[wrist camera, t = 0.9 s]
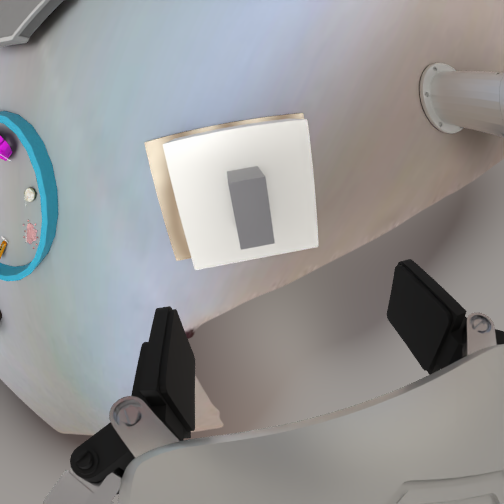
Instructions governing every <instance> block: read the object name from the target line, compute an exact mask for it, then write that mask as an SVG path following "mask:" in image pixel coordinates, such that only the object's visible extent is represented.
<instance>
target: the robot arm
mask: <svg viewBox="0 0 504 504" xmlns="http://www.w3.org/2000/svg"><path fill="white" fill-rule="evenodd" d="M420 98H421V103H422V106H423V109H424V111H425V113H426V116H427V117H428V119H429V120H430V122H431V123H432V124H433V125H434V126H435V127H436V128H437V129H438V130H440V131H442V132H445V133H450V134H454V133H457V132H459V131H461V130H462V129H463V128H468V129H472V130H477V131H481V132H485V133H489V134H492V135H496V136H500V137H503V138H504V72H488V71H456V70H455V69H454V68H453V67H451V66H449V65H447V64H445V63H434V64H431V65H429V66H428V67H427V68H426V69H425V70H424V72H423V74H422V76H421V80H420ZM465 314H466V310H465V309H464V308H462V307H461V305H460V304H459V303H458V302H456V300H455V299H454V298H453V297H452V296H450V295H449V294H448V293H447V292H446V291H445V290H444V289H443V288H442V287H441V286H440V285H439V284H438V283H437V282H436V281H435V280H434V279H432V278H431V277H430V276H429V275H428V274H427V273H426V272H425V271H424V270H423V269H421V268H420V267H419V266H418V265H417V264H416V263H415V262H414V261H412V260H411V259H409V260H405V261H401V262H399V263H398V265H397V266H396V267H395V272H394V279H393V284H392V290H391V295H390V300H389V306H388V311H387V318H388V320H389V321H390V323H391V324H392V326H393V327H394V328H395V330H396V331H397V332H398V334H399V335H400V337H401V338H402V339H403V341H404V342H405V343H406V344H407V346H408V348H409V349H410V351H411V352H412V353H413V355H414V356H415V358H416V359H417V361H418V362H419V363H420V365H421V367H422V368H423V369H424V370H427V371H428V373H429V374H430V375H429V376H426V377H424V378H422V379H420V380H418V381H416V382H413V383H411V384H409V385H407V386H404V387H402V388H400V389H397V390H395V391H392V392H390V393H387V394H385V395H382V396H379V397H377V398H374V399H371V400H369V401H366V402H363V403H360V404H357V405H354V406H351V407H348V408H345V409H342V410H338V411H335V412H332V413H328V414H325V415H321V416H317V417H314V418H310V419H306V420H302V421H298V422H293V423H289V424H284V425H279V426H274V427H269V428H264V429H258V430H253V431H247V432H240V433H234V434H227V435H219V436H212V437H204V438H196V439H190V440H185V441H183V438H191V435H190V434H191V431H194V430H195V358H194V354H193V352H192V349H191V347H190V344H189V342H188V339H187V336H186V334H185V331H184V329H183V326H182V323H181V321H180V318H179V315H178V313H177V310H176V309H174V310H172V308H171V307H170V306H169V307H163V308H157V309H156V311H155V315H154V320H153V324H152V329H151V333H150V338H149V342H144V343H143V344H142V347H141V351H140V356H139V360H138V365H137V370H136V375H135V380H134V385H133V391H132V396H128V397H123V398H121V399H119V400H118V401H117V402H115V403H114V404H113V406H112V408H111V410H110V413H109V419H110V423H109V424H108V425H106V426H105V427H104V428H103V429H101V430H100V431H99V432H97V433H96V434H95V435H93V436H92V437H91V438H89V439H88V440H87V441H85V442H84V443H83V444H81V445H80V446H79V447H77V448H76V449H75V450H74V452H73V453H72V455H71V459H70V463H71V469H70V471H67V470H65V472H64V473H63V474H62V476H61V477H60V479H59V480H58V481H57V483H56V484H55V486H54V487H53V488H52V490H51V491H50V492H49V494H48V495H47V497H46V498H45V500H44V502H43V504H113V502H112V500H113V498H114V497H115V495H116V494H119V498H118V504H504V332H503V331H500V330H496V329H495V327H494V324H493V321H492V320H491V319H490V318H489V317H488V316H486V315H485V314H482V313H472V314H470V315H469V316H468V317H467V318H466V317H465ZM440 369H441V370H440Z"/></svg>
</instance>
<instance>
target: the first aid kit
mask: <svg viewBox="0 0 504 504" xmlns="http://www.w3.org/2000/svg"><path fill="white" fill-rule="evenodd" d="M63 1H64V0H0V47H4V46H10V45H16V44H23V43H27V41H28V40H29V37H30V36H31V35H32V34H33V32H34V31H35V30H36V29H37V28H38V27H39V26H40V24H41V23H42V22H43V21H44V20H45V19H46V18H47V17H48V16H49V15H50V14H51V13H52V12H53V11H54V9H55V8H56V7H57V6H58V5H59V4H60V3H62V2H63Z"/></svg>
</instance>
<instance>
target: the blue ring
mask: <svg viewBox="0 0 504 504" xmlns="http://www.w3.org/2000/svg"><path fill="white" fill-rule="evenodd" d="M0 123H4V124H5V125H6V126H7V127H8V128H9V129H11V130H12V131H13V132H14V133H15V134H16V135H17V136H18V138H19V140H20V141H21V143H22V144H23V146H24V147H25V149H26V150H27V153H28V155H29V158H30V161H31V163H32V166H33V168H34V171H35V174H36V179H37V183H38V188H39V192H40V196H41V212H42V227H41V237H40V243H39V246H38V249H37V252H36V255H35V258H34V259H33V261H32V262H30V263H29V264H27V265H24V266H17V267H13V266H9V265H5V264H2V263H0V279H1V280H4V281H16V280H21V279H22V278H24V277H26V276H27V275H29V274H31V273H32V271H33V270H34V269H35V268H36V267H37V266H38V265H39V264H40V262H41V261H42V260H43V259H44V257H45V256H46V255H47V254H48V252H49V250H50V247H51V245H52V242H53V239H54V237H55V233H56V225H57V219H58V196H57V186H56V181H55V176H54V171H53V166H52V163H51V160H50V158H49V155H48V153H47V150H46V148H45V145H44V143H43V141H42V140H41V138H40V137H39V135H38V134H37V132H36V131H35V129H34V128H33V126H32V125H31V124H30V123H28V122H27V121H26V120H25V119H23V118H22V117H21V116H20V115H18V114H14V113H11V112H7V111H1V112H0ZM3 140H4V139H3V138H2V137H1V136H0V158H1V159H4V160H5V161H6V160H9V159H8V158H9V157H10V155H11V154H12V151H11V148H10V146H9V144H8V143H7V142H6V141H3ZM9 161H11V160H9ZM24 194H25V197H24V199H25V204H26V205H27V203H26V200H27V201H28V202H31V201H33V200H34V198H35V191H34V190H33V189H32V188H28V189H26V190H25V193H24ZM28 222H29V220H28ZM28 225H29V226H28ZM28 225H27V227H26V228H27V230H25V231H24V232H26V235H27V236H26V237H27V238H26V242H29V244H32V242H33V241H35V240H37V239H36V233H37V230H36V229H34V227H33V225H32V224H31V223H30V224H29V223H28ZM35 225H36V223H35ZM23 226H24V224H23ZM29 227H30V228H29ZM32 228H33V229H32ZM34 230H35V231H34ZM1 237H2V236H1ZM24 238H25V236H24ZM37 238H38V237H37ZM3 239H4V238H3ZM5 241H6V240H5ZM5 241H3V242H2V244H1V246H0V258H1V256H2V254H3V251H4V249H5V247H6V245H7V243H6V242H5ZM36 245H37V244H36ZM33 249H34V247H33Z"/></svg>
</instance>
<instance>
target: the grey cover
mask: <svg viewBox="0 0 504 504" xmlns="http://www.w3.org/2000/svg"><path fill="white" fill-rule="evenodd" d="M163 149H164V153H165V158H166V162H167V166H168V171H169V175H170V179H171V183H172V187H173V191H174V195H175V199H176V203H177V207H178V211H179V215H180V218H181V222H182V226H183V229H184V233H185V237H186V240H187V244H188V247H189V251H190V254H191V258H192V261H193V265H194V268H195V270H199V269H204V268H210V267H215V266H220V265H226V264H231V263H236V262H242V261H247V260H252V259H258V258H263V257H268V256H273V255H278V254H284V253H289V252H294V251H299V250H304V249H310V248H315V247H319V246H318V227H317V211H316V198H315V186H314V174H313V164H312V154H311V145H310V137H309V129H308V121H307V119H289V118H288V119H279V120H271V121H264V122H256V123H250V124H243V125H237V126H232V127H226V128H221V129H215V130H210V131H205V132H201V133H196V134H192V135H187V136H183V137H179V138H175V139H173V140H171V141H169V142H166V143H164V144H163Z"/></svg>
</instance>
